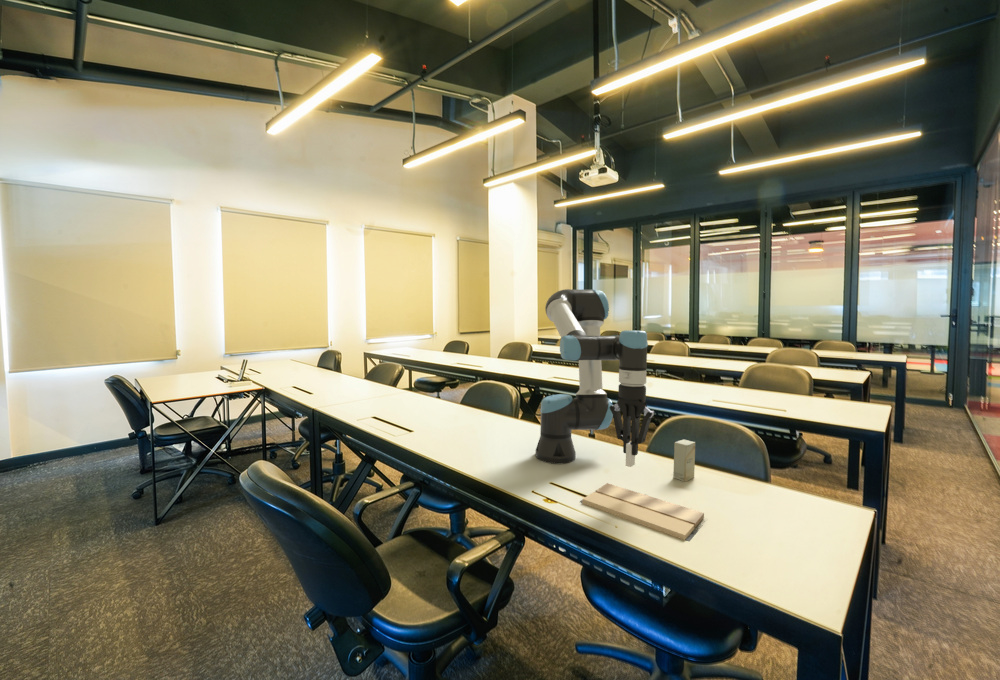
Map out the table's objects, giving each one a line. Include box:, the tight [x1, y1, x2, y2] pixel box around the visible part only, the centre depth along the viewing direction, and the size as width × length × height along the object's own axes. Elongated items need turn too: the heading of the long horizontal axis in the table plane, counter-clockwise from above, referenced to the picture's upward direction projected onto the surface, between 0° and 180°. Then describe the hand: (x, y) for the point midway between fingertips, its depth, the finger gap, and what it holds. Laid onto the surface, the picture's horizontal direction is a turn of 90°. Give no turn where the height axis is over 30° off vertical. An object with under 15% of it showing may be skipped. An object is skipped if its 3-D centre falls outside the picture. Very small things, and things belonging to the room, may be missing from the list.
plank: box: [595, 482, 705, 529], centre depth 117 cm, size 28×7×1 cm, turn 48°
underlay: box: [579, 491, 707, 542], centre depth 114 cm, size 30×15×2 cm, turn 48°
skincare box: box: [672, 438, 696, 482], centre depth 140 cm, size 6×4×12 cm
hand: (630, 465), depth 121 cm, fingers closed
